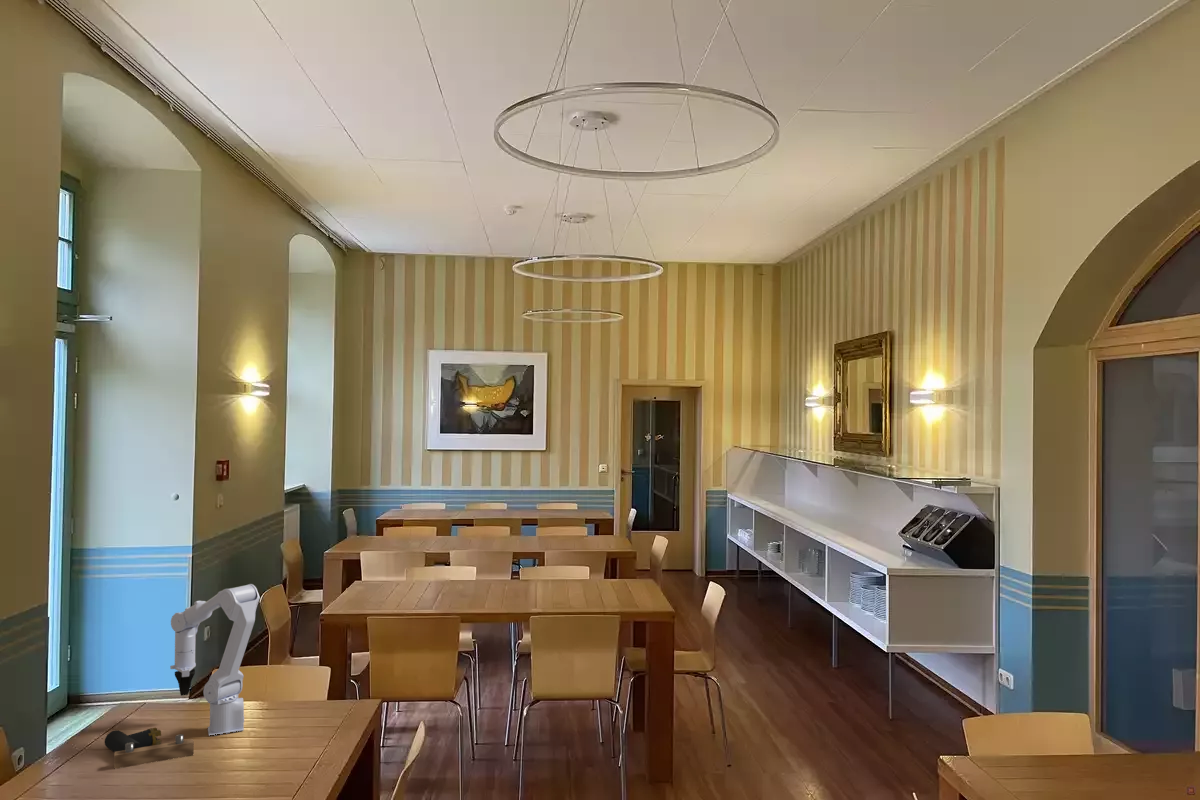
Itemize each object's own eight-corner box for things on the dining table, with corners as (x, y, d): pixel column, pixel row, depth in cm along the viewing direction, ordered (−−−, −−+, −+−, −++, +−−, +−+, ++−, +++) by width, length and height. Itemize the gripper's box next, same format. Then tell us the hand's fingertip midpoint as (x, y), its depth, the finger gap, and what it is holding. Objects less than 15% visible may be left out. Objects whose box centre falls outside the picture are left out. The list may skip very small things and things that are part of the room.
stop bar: (193, 751, 229) (193, 731, 230) (193, 755, 227) (193, 735, 227) (114, 765, 220) (114, 744, 220) (114, 769, 218) (114, 748, 218)
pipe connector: (147, 720, 240) (168, 732, 230) (148, 739, 240) (168, 751, 230) (104, 732, 231) (123, 745, 221) (104, 751, 231) (124, 765, 221)
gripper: (170, 646, 259) (169, 690, 258) (171, 657, 246) (170, 703, 245) (195, 643, 262) (194, 686, 261) (197, 654, 249) (196, 699, 249)
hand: (184, 694), depth 253 cm, fingers closed
